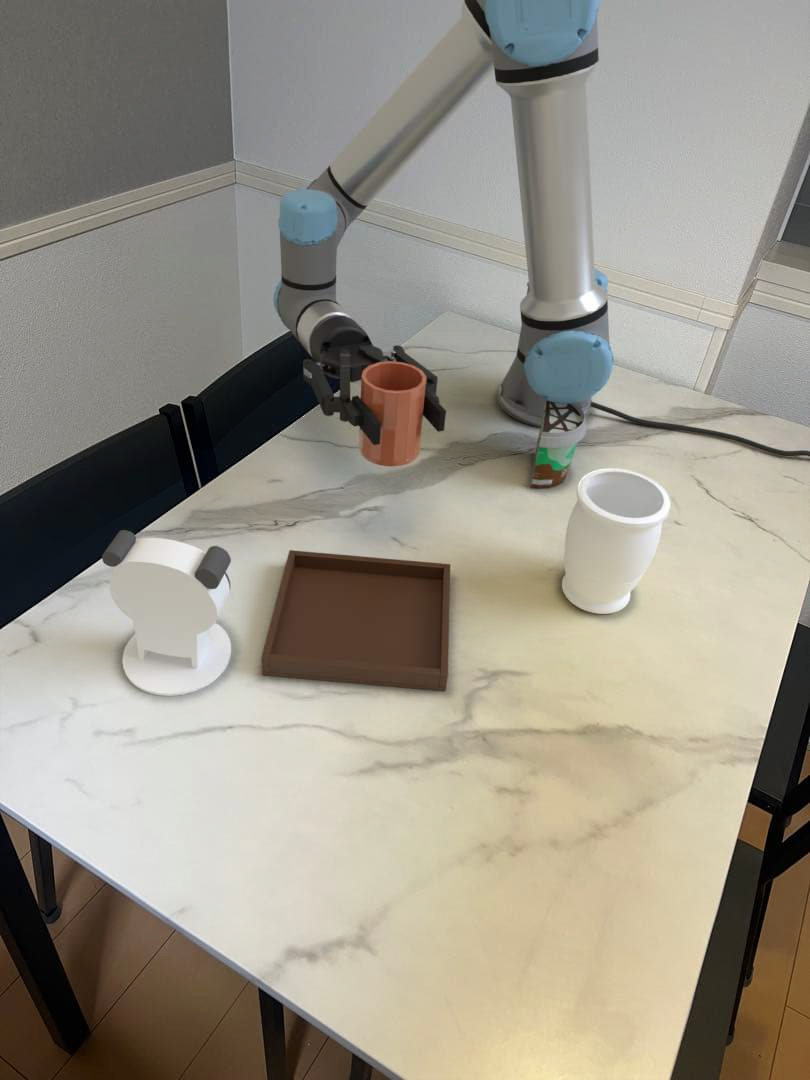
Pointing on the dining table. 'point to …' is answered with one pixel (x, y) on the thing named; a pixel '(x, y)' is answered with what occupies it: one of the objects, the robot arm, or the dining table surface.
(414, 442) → the cup
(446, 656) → the tray
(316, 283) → the robot arm
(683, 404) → the dining table surface
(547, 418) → the food container
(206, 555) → the panda figurine
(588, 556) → the jar
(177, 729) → the dining table surface
